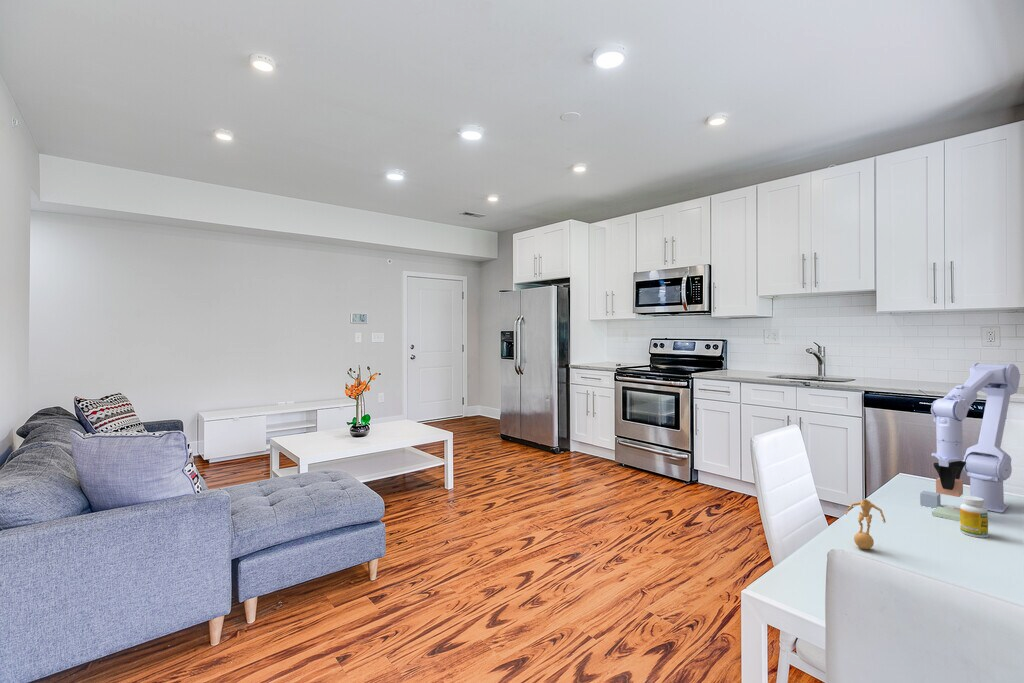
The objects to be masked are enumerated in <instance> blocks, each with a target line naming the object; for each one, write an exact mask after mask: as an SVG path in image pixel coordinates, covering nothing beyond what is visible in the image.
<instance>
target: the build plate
mask: <svg viewBox="0 0 1024 683" xmlns="http://www.w3.org/2000/svg"><path fill="white" fill-rule="evenodd" d="M932 515H933V516H932ZM931 516H932V517H936V516H938V517H937V518H941V517H943V518H942V519H946V518H947V519H946V520H951V519H952V520H951V521H955V520H958V521H957V522H960V510H955V509H950V508H945V506H944V507H943V506H940V507H939V506H938V507H937V508H936V509H933V510H931Z"/></svg>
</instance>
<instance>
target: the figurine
mask: <svg viewBox="0 0 1024 683" xmlns="http://www.w3.org/2000/svg"><path fill="white" fill-rule="evenodd" d="M853 506H860V508H861V511H860V512H859V513H858V514H859V515H858V519H857V520H858V523H859V525H860V528H859V531H858V532H857V533H856V534H855V535H854V537H853V540H854V543H855V545H856V546H857V547H858V548H860V549H862V550H869V549H871V548H873V546H874V544H875V541H874V538H873V536H872V535H870V528H871V523H872V518H873V515H872V514H870V512H871V511H872V510H871V509H873V508H874V509H875V510H877V511H879V514H880V516H881V518H882V520H881V521H883V522H882V524H883V523H884V524H886V518H885V515H884V513H883V510H882V509H881V508H880V507H878V506H877V505H875V504H874V503H872V502H871V501H870V500H868V499H867V498H863V499H862V501H857V502H852V503H851V504H850V506H849V507H847V510H846V511H845V515H847V514H848V513H849V511H850V510H851V509H852V508H853ZM864 519H865V521H866V523H867V524H866V526H867V528H866V532H864V531H863V529H864V526H863V525H864V524H863V522H862V521H864Z"/></svg>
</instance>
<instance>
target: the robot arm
mask: <svg viewBox="0 0 1024 683" xmlns="http://www.w3.org/2000/svg"><path fill="white" fill-rule="evenodd" d="M1020 381H1021V374H1020V369H1019V368H1018V367H1017V366H1016V364H1014V363H1008V364H1007V363H1006V364H1005V363H979V362H974V363H973V364H972V365H971V367H970V368H969V377H968V378H967V380H966V381H964V383H963V384H957V385H955V387H953V388H951V390H950V391H949V392H947V394H946V395H945V396H944V397H943V398H937V399H936V400H933V402H932V403H931V408H930V413H931V415H932V417H933V418H932V419H933V423H934V424H935V425H936V426H935V428H936V429H935V430H936V431H935V432H936V436H935V437H936V438H935V439H936V452H932V453H931V454H930V455H931V457H934V458H936V459H938V462H933V467H934V469H935V470H936V472H937V474H938V478H939V477H940V481H941V484H942V487H943V489H949V490H953V488H954V483H955V479H960V480H961V475H962V472H963V471H964V473H966V476H967V477H969V483H970V485H969V486H970V487H969V488H970V489H969V490H970V492H969V493H970V496H974V497H979V498H982V499H984V505H983V507H985V508H986V509H987V511H990V512H995V513H1000V514H1004V512H1005V511H1006V510H1007V509H1008V507H1009V505H1008V504H1006V503H1005V501H1004V500H1005V499H1004V498H1005V497H1004V496H1005V495H1004V491H1005V490H1004V481H1007V479H1009V478H1011V475H1012V471H1013V468H1012V457H1011V456H1010V455H1009V453H1007V452H1006V451H1004V450H1003V449H1002V448H1001V446H1002V442H1003V441H1002V440H1003V436H1004V430H1005V425H1006V420H1007V415H1008V409H1009V404H1010V399H1011V396H1012V395H1015V394H1017V392H1018V389H1019V385H1020ZM978 392H982V393H984V394H986V400H985V406H984V412H983V417H982V421H981V422H982V423H981V427H980V432H979V437H978V441H977V443H975V444H974V445H972V446H969V447H967V448H966V450H965V454H964V445H963V444H964V442H963V441H964V437H963V420H965V419H966V418H967V415H968V412H969V411H970V406H971V405H972V404H973V403H974V402H975V401H976V400H977V399H978Z"/></svg>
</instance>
